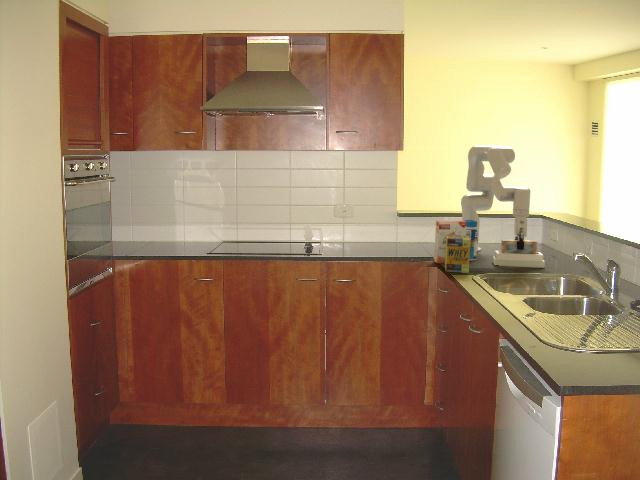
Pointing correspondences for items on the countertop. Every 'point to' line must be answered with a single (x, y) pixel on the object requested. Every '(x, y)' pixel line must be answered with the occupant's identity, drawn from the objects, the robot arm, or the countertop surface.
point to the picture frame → (511, 247)
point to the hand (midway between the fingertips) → (518, 248)
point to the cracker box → (440, 236)
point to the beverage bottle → (472, 238)
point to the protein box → (457, 253)
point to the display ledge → (519, 259)
